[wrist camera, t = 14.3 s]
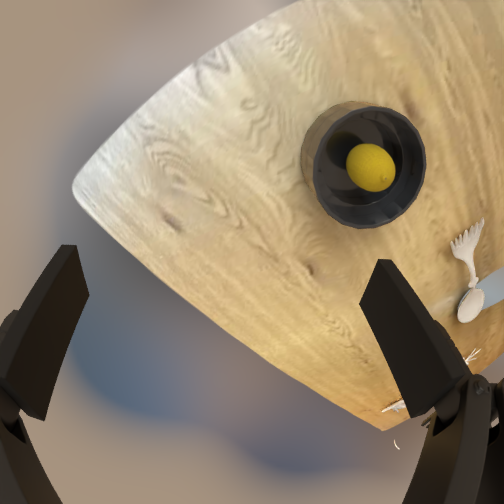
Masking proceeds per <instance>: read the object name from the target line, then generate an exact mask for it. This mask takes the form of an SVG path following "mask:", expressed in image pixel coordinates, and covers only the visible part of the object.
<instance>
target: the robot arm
mask: <svg viewBox="0 0 504 504" xmlns="http://www.w3.org/2000/svg"><path fill="white" fill-rule="evenodd" d="M88 297H89V292H88V288H87V285H86V281H85V278H84V274H83V271H82V266H81V263H80V259H79V254H78V250H77V246H76V245H61V247H60V248H59V249H58V251H57V252H56V253H55V255H54V256H53V258H52V259H51V261H50V262H49V264H48V265H47V266H46V268H45V269H44V271H43V272H42V274H41V275H40V277H39V278H38V280H37V282H36V283H35V285H34V286H33V288H32V289H31V291H30V293H29V294H28V296H27V297H26V299H25V301H24V302H23V304H22V306H21V308H20V309H19V311H18V310H13V311H12V312H11V313H10V314H9V315H8V316H7V317H6V318H5V319H4V321H3V323H2V324H1V326H0V504H63V503H62V502H61V500H60V498H59V497H58V495H57V493H56V491H55V490H54V488H53V486H52V485H51V483H50V481H49V479H48V477H47V475H46V473H45V471H44V469H43V467H42V465H41V463H40V461H39V459H38V457H37V454H36V452H35V450H34V448H33V446H32V443H31V441H30V438H29V436H28V434H27V431H26V428H25V426H24V423H23V420H22V418H21V417H20V415H19V412H20V408H21V409H22V410H23V411H24V412H25V413H26V414H27V415H28V416H30V417H33V418H36V419H39V420H42V421H44V420H45V417H46V414H47V410H48V407H49V403H50V399H51V396H52V393H53V389H54V386H55V383H56V380H57V377H58V374H59V371H60V367H61V365H62V362H63V359H64V357H65V354H66V351H67V348H68V346H69V343H70V340H71V338H72V335H73V333H74V330H75V327H76V325H77V323H78V320H79V318H80V316H81V313H82V311H83V308H84V306H85V304H86V302H87V300H88ZM359 305H360V307H361V309H362V311H363V313H364V315H365V317H366V319H367V321H368V323H369V325H370V327H371V329H372V331H373V333H374V335H375V337H376V340H377V342H378V344H379V346H380V348H381V350H382V352H383V354H384V357H385V359H386V361H387V363H388V365H389V368H390V370H391V372H392V374H393V377H394V379H395V381H396V384H397V386H398V388H399V391H400V393H401V395H402V398H403V400H404V403H405V405H406V407H407V410H408V412H409V415H410V417H411V418H414V417H417V416H420V415H423V414H425V413H426V412H428V411H429V410H430V409H431V408H432V407H433V406H434V407H435V410H436V411H435V412H434V413H433V414H432V415H430V416H429V417H428V418H427V419H426V420H425V421H423V423H422V425H421V426H424V425H426V424H427V423H428V422H429V421H430V424H429V425H428V426H427V427H426V428H428V432H427V436H426V439H425V442H424V446H423V449H422V452H421V455H420V458H419V461H418V464H417V467H416V470H415V473H414V475H413V479H412V481H411V483H410V486H409V488H408V491H407V493H406V496H405V498H404V500H403V502H402V504H504V378H503V379H502V380H501V381H500V382H499V383H498V384H497V383H489V382H488V381H487V380H486V378H484V377H483V376H482V375H479V374H474V375H473V374H472V373H471V371H470V369H469V368H468V366H467V364H466V362H465V361H464V359H463V357H462V356H461V354H460V352H459V351H458V349H457V347H455V344H454V342H453V341H452V339H450V338H451V337H450V336H449V334H448V333H447V331H446V330H445V328H444V327H443V326H442V325H441V324H440V323H439V322H437V321H436V320H433V318H432V317H431V315H430V314H429V312H428V311H427V309H426V308H425V306H424V305H423V303H422V302H421V300H420V299H419V297H418V296H417V294H416V293H415V292H414V290H413V289H412V287H411V286H410V285H409V283H408V282H407V280H406V279H405V278H404V276H403V275H402V273H401V272H400V271H399V269H398V268H397V267H396V265H395V264H394V263H393V261H392V260H388V259H378V261H377V263H376V266H375V268H374V271H373V273H372V275H371V278H370V280H369V282H368V285H367V287H366V289H365V292H364V294H363V296H362V298H361V301H360V303H359ZM497 417H499V423H498V424H497V425H496V426H494V427H493V428H492V427H491V422H492V421H494V420H495V419H496V418H497Z"/></svg>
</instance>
